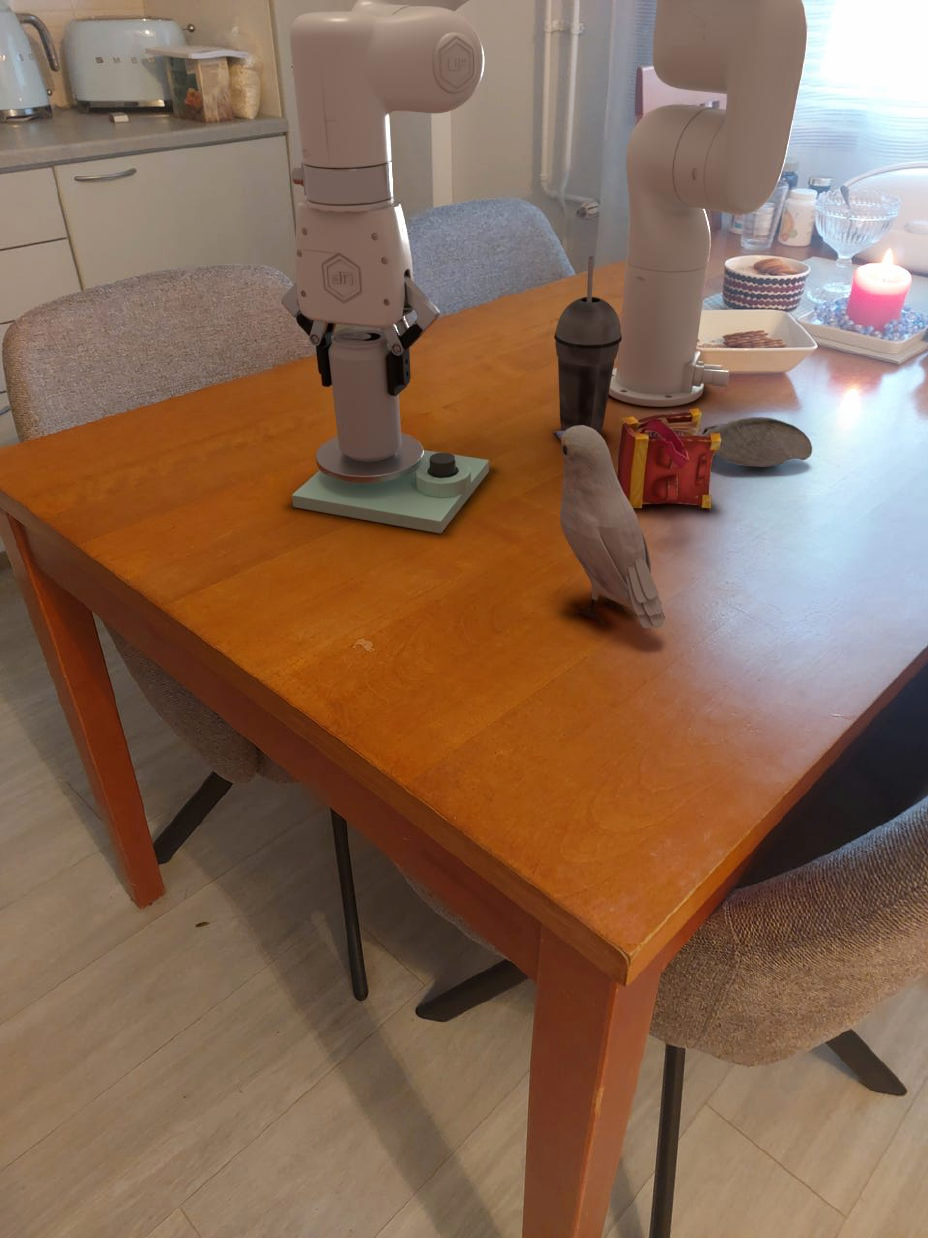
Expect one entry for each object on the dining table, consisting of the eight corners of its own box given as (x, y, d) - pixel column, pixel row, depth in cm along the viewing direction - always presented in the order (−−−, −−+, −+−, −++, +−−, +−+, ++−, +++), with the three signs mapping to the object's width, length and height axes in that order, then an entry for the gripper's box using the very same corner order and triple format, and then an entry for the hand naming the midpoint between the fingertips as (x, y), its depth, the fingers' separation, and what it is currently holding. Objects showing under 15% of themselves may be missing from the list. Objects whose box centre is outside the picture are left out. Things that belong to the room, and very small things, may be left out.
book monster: (698, 477, 93) (720, 541, 84) (611, 479, 94) (624, 543, 85) (712, 381, 87) (738, 440, 77) (618, 383, 87) (633, 442, 78)
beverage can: (399, 465, 88) (392, 345, 81) (335, 465, 89) (322, 346, 82) (404, 438, 94) (397, 323, 87) (343, 438, 94) (331, 323, 87)
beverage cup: (618, 427, 104) (635, 247, 93) (605, 453, 99) (622, 265, 87) (557, 420, 106) (567, 243, 95) (542, 445, 101) (550, 260, 89)
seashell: (800, 446, 100) (810, 403, 97) (814, 479, 93) (825, 435, 90) (692, 441, 101) (698, 399, 98) (698, 474, 94) (705, 430, 91)
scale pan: (440, 444, 94) (439, 437, 94) (397, 490, 86) (397, 483, 85) (346, 430, 97) (345, 424, 97) (296, 473, 89) (295, 466, 88)
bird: (567, 564, 80) (577, 405, 72) (678, 636, 71) (706, 464, 63) (525, 582, 78) (530, 420, 69) (634, 658, 69) (656, 484, 60)
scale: (491, 472, 95) (491, 446, 94) (443, 534, 85) (442, 506, 83) (354, 450, 100) (352, 425, 98) (293, 507, 90) (289, 480, 88)
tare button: (459, 470, 90) (459, 454, 89) (450, 481, 88) (449, 465, 87) (435, 466, 91) (435, 450, 90) (425, 477, 89) (425, 461, 88)
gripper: (238, 187, 76) (267, 389, 87) (425, 199, 71) (432, 412, 82) (282, 172, 82) (305, 363, 92) (458, 182, 77) (461, 383, 87)
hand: (365, 384), depth 87 cm, fingers closed on beverage can, 6 cm apart
